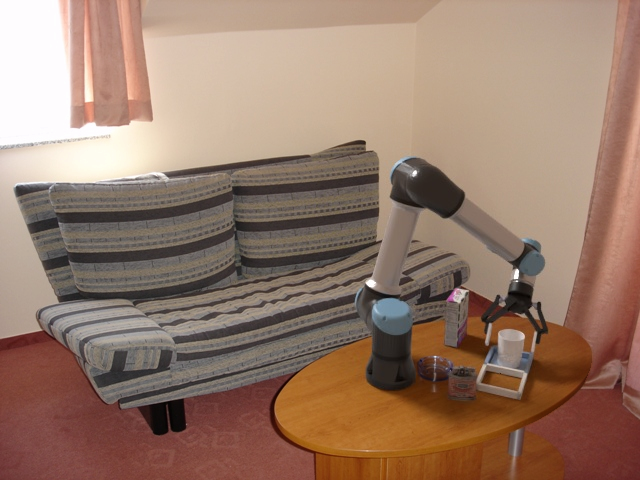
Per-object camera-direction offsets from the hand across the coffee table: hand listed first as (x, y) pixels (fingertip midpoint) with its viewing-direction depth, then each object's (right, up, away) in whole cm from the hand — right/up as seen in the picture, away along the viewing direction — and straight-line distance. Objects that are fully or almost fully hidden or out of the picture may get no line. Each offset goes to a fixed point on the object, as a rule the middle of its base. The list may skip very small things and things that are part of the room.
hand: (509, 348), depth 197 cm
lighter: (-17, -12, -13) cm, 25 cm away
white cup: (+1, -5, +4) cm, 7 cm away
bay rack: (-2, -7, -1) cm, 8 cm away
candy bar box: (-13, 0, +19) cm, 23 cm away
